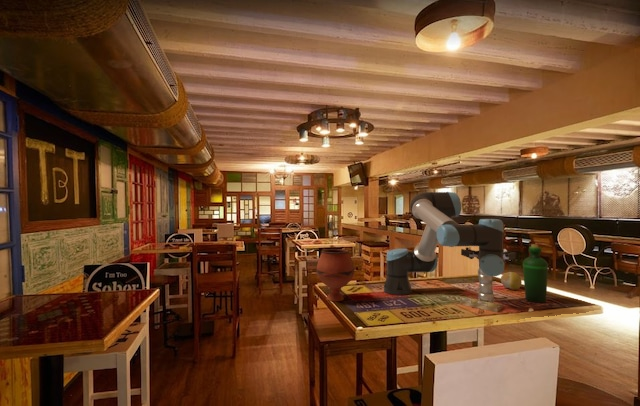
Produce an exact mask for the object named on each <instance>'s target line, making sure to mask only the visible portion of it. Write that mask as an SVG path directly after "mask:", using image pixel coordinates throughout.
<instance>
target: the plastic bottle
mask: <svg viewBox="0 0 640 406" xmlns="http://www.w3.org/2000/svg"><path fill="white" fill-rule="evenodd" d="M477 274H478V283H479V288H478V296H477V298H478V300H479V301H485V302H490V303H495V302H494V301H495V296H494V291H493V289H494V288H493V280H494V277H492V276H488V275H486V274H484V273H483V272H482V271H481V269H480V267H479V268H478V270H477Z"/></svg>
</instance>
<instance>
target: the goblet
mask: <svg viewBox="0 0 640 406" xmlns="http://www.w3.org/2000/svg"><path fill="white" fill-rule="evenodd" d="M354 274H355V265H354V262H353V259H352V256H351V254H350V250H349V249H338V248H330V249H322V250H321V254H320V255H319V258H318V262H317V264H316V275H317V277H318V278H319V280H320V281H321V282H322V283H323V284H324V285H325V286H326V287H328V288H329V291H330V293H328V294H327V296H326V300H327V301H330V302H341V301H344V300H345V299H344V296H343V295H342V293H341V290H342V288H343V287H346V286H347V285H348V284H349V283H350V282H351V281H352V279H353V277H354Z"/></svg>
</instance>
